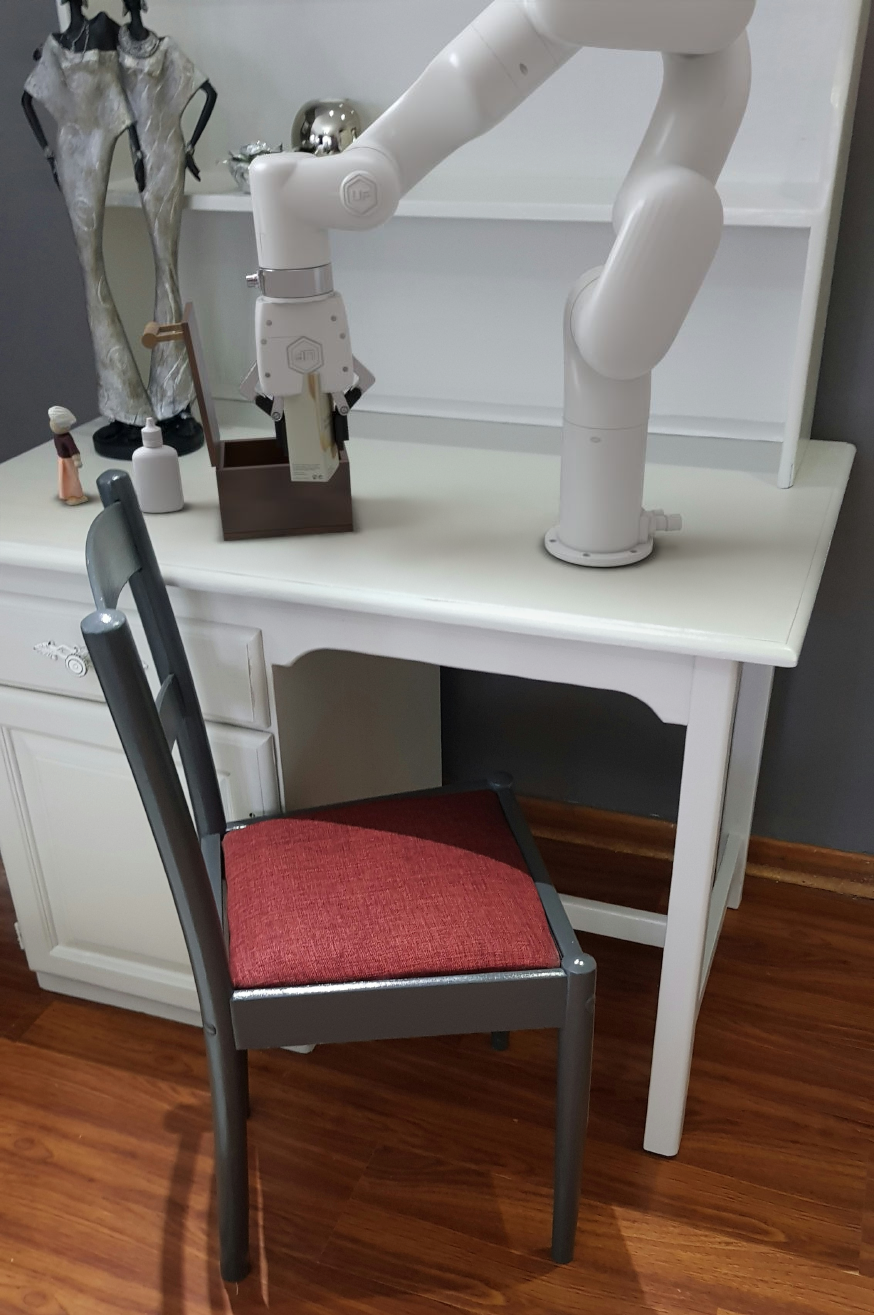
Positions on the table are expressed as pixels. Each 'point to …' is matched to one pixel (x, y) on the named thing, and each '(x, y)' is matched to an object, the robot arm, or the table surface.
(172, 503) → the eye dropper bottle
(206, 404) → the lid
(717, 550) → the table surface
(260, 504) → the chest
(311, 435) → the cosmetic box
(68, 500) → the grandmother figurine
